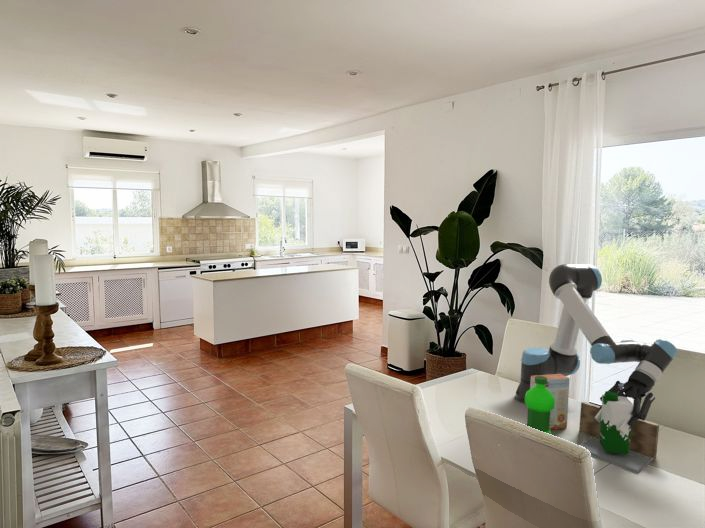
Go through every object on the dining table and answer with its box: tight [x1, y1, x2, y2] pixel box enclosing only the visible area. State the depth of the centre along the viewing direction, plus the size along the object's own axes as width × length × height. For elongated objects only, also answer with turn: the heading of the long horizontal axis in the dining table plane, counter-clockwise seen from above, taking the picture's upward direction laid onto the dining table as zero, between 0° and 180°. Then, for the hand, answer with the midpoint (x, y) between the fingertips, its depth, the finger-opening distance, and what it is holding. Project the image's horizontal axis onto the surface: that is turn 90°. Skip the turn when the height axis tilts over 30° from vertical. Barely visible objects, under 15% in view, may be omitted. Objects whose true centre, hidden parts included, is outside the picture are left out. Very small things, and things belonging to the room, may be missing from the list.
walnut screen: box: [578, 401, 660, 460], centre depth 174 cm, size 26×2×12 cm, turn 40°
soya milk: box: [599, 390, 634, 454], centre depth 165 cm, size 9×9×20 cm
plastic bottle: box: [524, 376, 555, 435], centre depth 172 cm, size 10×10×25 cm
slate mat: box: [579, 437, 653, 474], centre depth 166 cm, size 20×13×1 cm, turn 40°
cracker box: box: [530, 374, 570, 431], centre depth 187 cm, size 14×6×21 cm, turn 104°
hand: (608, 425), depth 164 cm, fingers closed on soya milk, 9 cm apart
